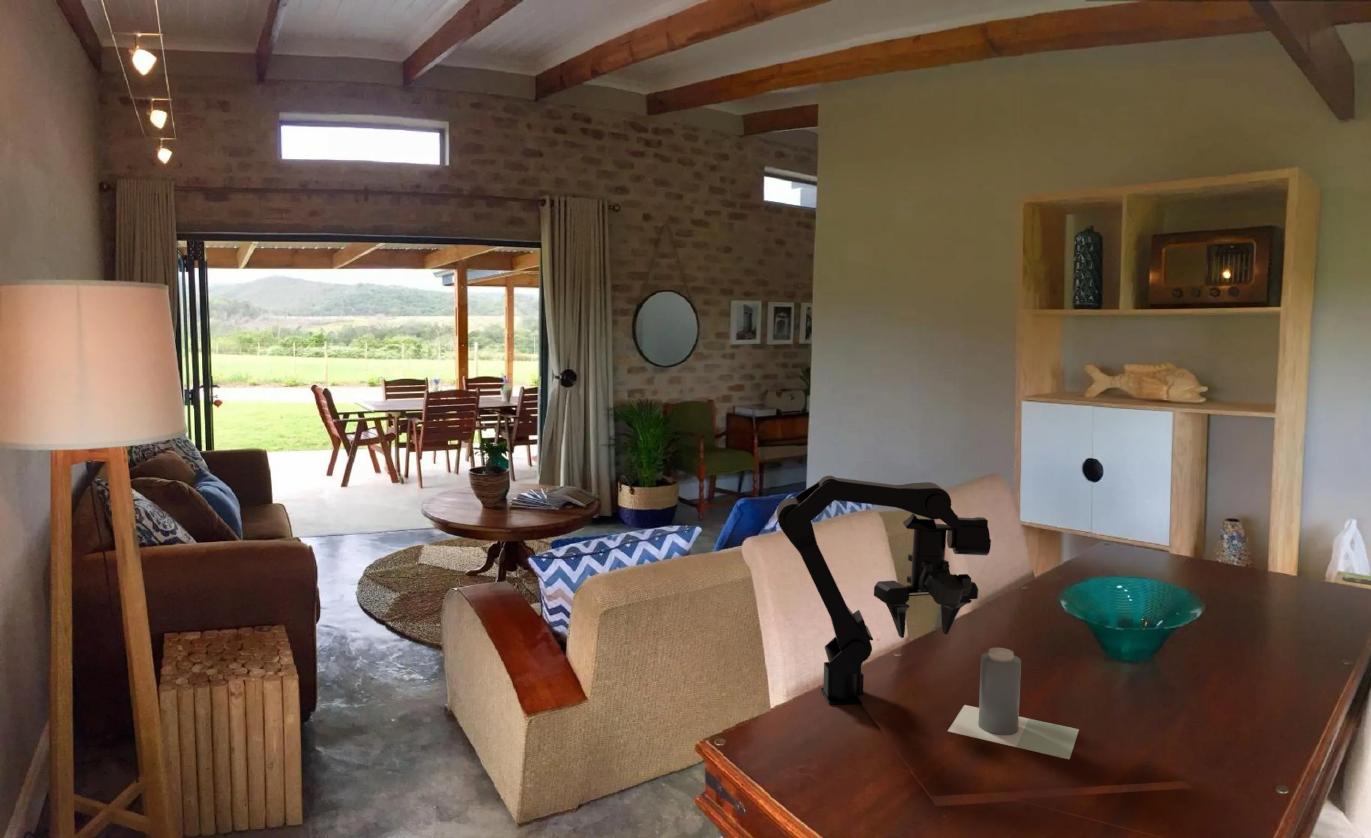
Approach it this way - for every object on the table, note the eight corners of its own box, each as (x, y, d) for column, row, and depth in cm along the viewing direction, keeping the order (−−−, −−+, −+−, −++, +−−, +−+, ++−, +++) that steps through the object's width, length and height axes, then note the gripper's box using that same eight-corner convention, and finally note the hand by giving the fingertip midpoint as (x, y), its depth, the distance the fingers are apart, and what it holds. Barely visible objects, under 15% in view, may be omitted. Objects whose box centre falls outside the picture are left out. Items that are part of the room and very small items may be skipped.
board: (947, 735, 149) (947, 730, 149) (964, 709, 159) (964, 704, 159) (1069, 763, 139) (1069, 759, 139) (1078, 733, 149) (1079, 729, 149)
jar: (988, 736, 147) (991, 659, 145) (971, 719, 153) (974, 645, 152) (1025, 734, 147) (1028, 658, 146) (1007, 717, 154) (1010, 644, 152)
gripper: (907, 567, 150) (901, 655, 152) (1000, 562, 156) (993, 647, 157) (874, 550, 161) (869, 633, 163) (962, 546, 166) (957, 626, 168)
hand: (923, 635), depth 162 cm, fingers open, 9 cm apart
